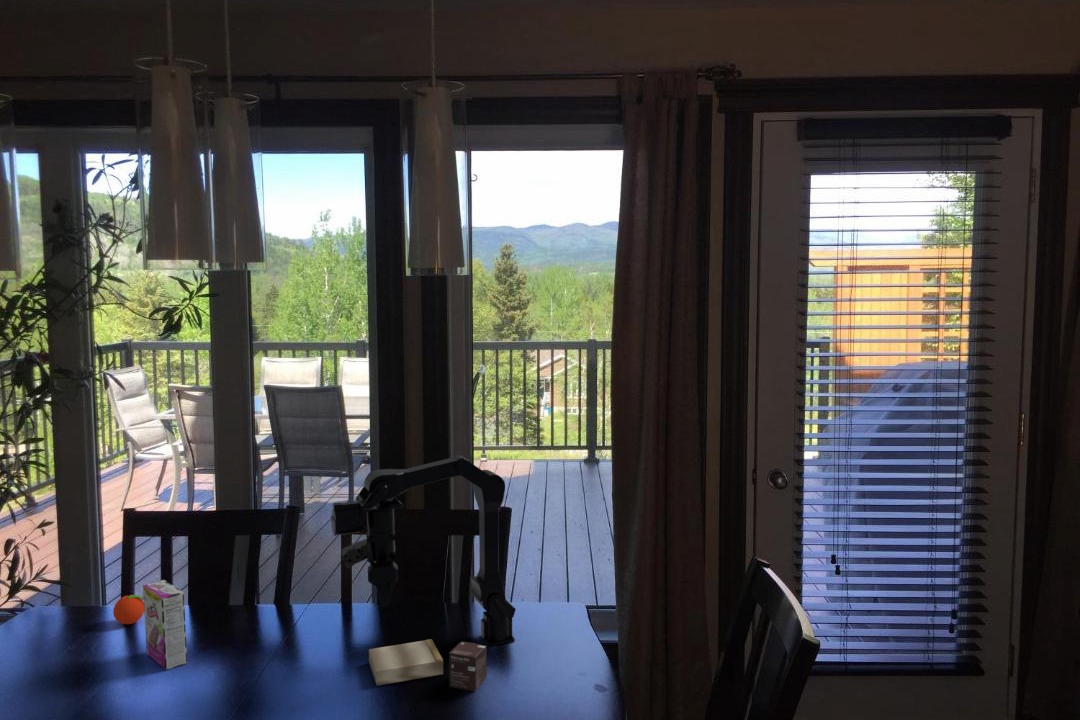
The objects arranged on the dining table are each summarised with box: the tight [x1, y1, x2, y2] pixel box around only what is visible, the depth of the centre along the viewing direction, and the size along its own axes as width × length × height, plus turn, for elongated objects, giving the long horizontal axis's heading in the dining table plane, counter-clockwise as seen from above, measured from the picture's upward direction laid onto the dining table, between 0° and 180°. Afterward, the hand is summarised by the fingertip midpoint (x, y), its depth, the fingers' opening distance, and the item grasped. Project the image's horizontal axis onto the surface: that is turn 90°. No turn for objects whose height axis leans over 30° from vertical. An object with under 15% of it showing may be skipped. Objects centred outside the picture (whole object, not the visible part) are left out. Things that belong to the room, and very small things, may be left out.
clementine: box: [112, 594, 145, 625], centre depth 192 cm, size 8×7×7 cm
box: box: [448, 640, 488, 692], centre depth 161 cm, size 6×6×7 cm
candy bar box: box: [142, 579, 188, 671], centre depth 172 cm, size 11×5×16 cm, turn 47°
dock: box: [368, 638, 444, 686], centre depth 168 cm, size 14×11×3 cm
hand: (383, 598), depth 171 cm, fingers open, 9 cm apart
